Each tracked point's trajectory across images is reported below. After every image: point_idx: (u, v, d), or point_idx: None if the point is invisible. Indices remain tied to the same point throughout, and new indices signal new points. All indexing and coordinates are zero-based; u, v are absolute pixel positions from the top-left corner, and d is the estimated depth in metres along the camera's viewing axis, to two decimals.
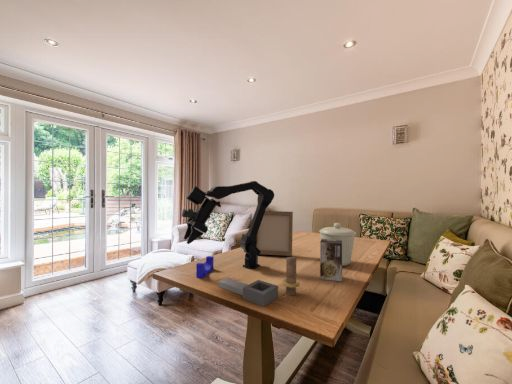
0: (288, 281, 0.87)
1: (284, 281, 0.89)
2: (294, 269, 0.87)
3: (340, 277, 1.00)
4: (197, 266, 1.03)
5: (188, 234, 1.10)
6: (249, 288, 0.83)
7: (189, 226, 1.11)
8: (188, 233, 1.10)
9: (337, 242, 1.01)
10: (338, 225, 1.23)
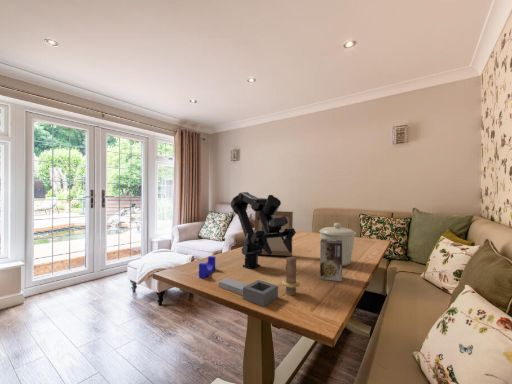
0: (288, 281, 0.87)
1: (284, 281, 0.89)
2: (294, 269, 0.87)
3: (340, 277, 1.00)
4: (200, 266, 1.03)
5: None
6: (249, 288, 0.83)
7: None
8: None
9: (337, 242, 1.01)
10: (338, 225, 1.23)
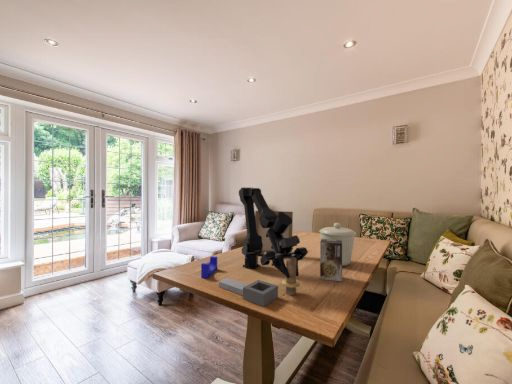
0: (288, 281, 0.87)
1: (284, 281, 0.89)
2: (294, 269, 0.87)
3: (340, 277, 1.00)
4: (202, 266, 1.03)
5: None
6: (249, 288, 0.83)
7: None
8: None
9: (337, 242, 1.01)
10: (338, 225, 1.23)
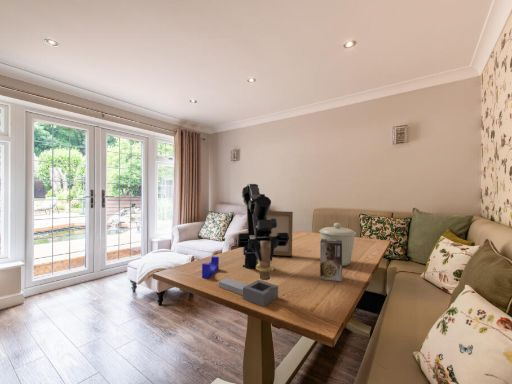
0: (260, 265, 0.84)
1: (258, 265, 0.86)
2: (266, 253, 0.83)
3: (340, 277, 1.00)
4: (203, 266, 1.03)
5: None
6: (249, 288, 0.83)
7: None
8: None
9: (337, 242, 1.01)
10: (338, 225, 1.23)
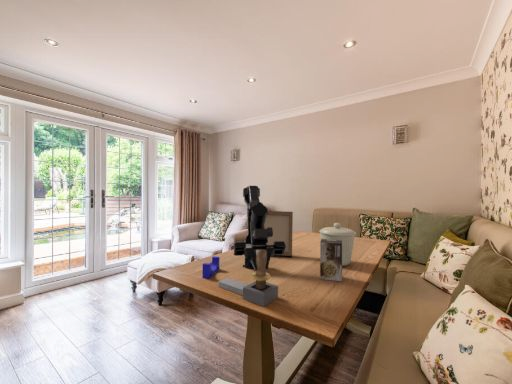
0: (256, 274, 0.84)
1: (254, 273, 0.86)
2: (262, 262, 0.83)
3: (340, 277, 1.00)
4: (203, 266, 1.03)
5: None
6: (249, 288, 0.83)
7: None
8: None
9: (337, 242, 1.01)
10: (338, 225, 1.23)
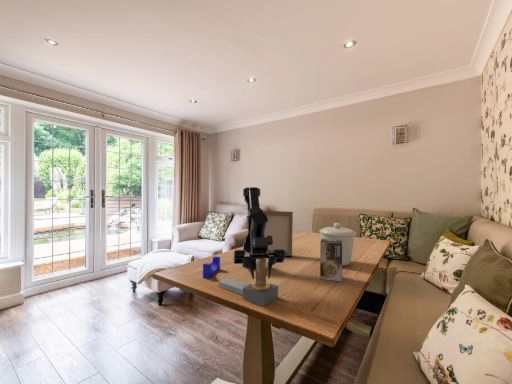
0: (256, 283, 0.84)
1: (254, 283, 0.86)
2: (262, 271, 0.83)
3: (340, 277, 1.00)
4: (204, 266, 1.03)
5: None
6: (249, 288, 0.83)
7: (251, 261, 0.86)
8: None
9: (337, 242, 1.01)
10: (338, 225, 1.23)
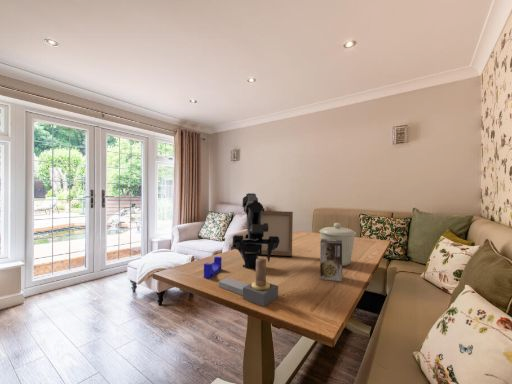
0: (256, 283, 0.84)
1: (254, 283, 0.86)
2: (262, 271, 0.83)
3: (340, 277, 1.00)
4: (204, 266, 1.03)
5: (244, 255, 0.94)
6: (249, 288, 0.83)
7: (243, 245, 0.95)
8: (244, 254, 0.94)
9: (337, 242, 1.01)
10: (338, 225, 1.23)
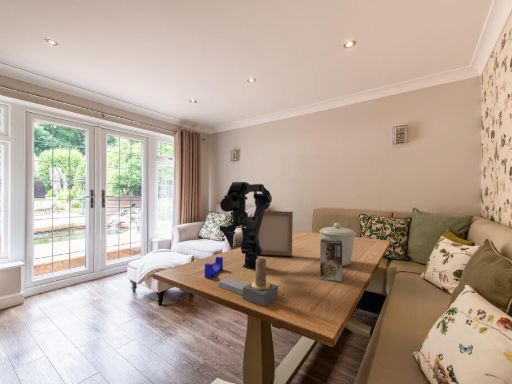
0: (256, 283, 0.84)
1: (254, 283, 0.86)
2: (262, 271, 0.83)
3: (340, 277, 1.00)
4: (205, 266, 1.03)
5: None
6: (249, 288, 0.83)
7: None
8: None
9: (337, 242, 1.01)
10: (338, 225, 1.23)
